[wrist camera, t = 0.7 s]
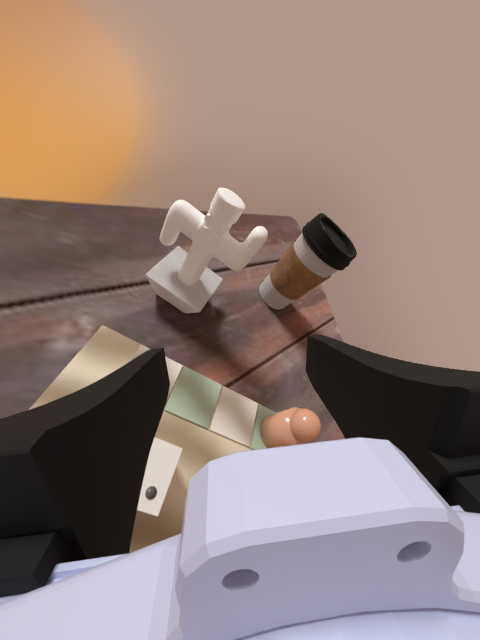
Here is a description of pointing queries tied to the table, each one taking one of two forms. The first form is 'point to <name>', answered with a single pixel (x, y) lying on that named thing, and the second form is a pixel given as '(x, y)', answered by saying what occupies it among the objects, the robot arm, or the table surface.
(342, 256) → the coffee cup
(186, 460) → the game board
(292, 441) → the pawn
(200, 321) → the table surface
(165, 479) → the die
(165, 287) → the figurine
